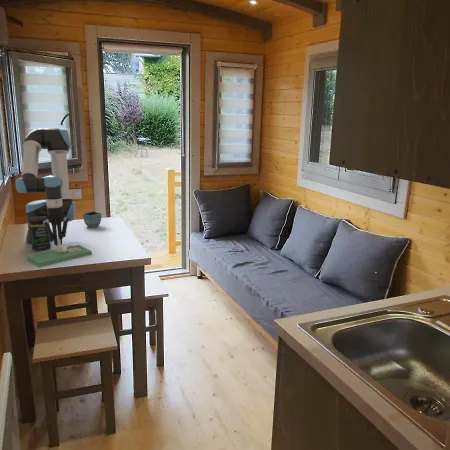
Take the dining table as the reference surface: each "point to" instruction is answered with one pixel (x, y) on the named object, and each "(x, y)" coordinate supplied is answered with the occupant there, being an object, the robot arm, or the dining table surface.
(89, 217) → the flower pot
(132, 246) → the dining table surface
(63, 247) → the ball
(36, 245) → the coffee jar
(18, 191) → the robot arm
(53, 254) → the mat
